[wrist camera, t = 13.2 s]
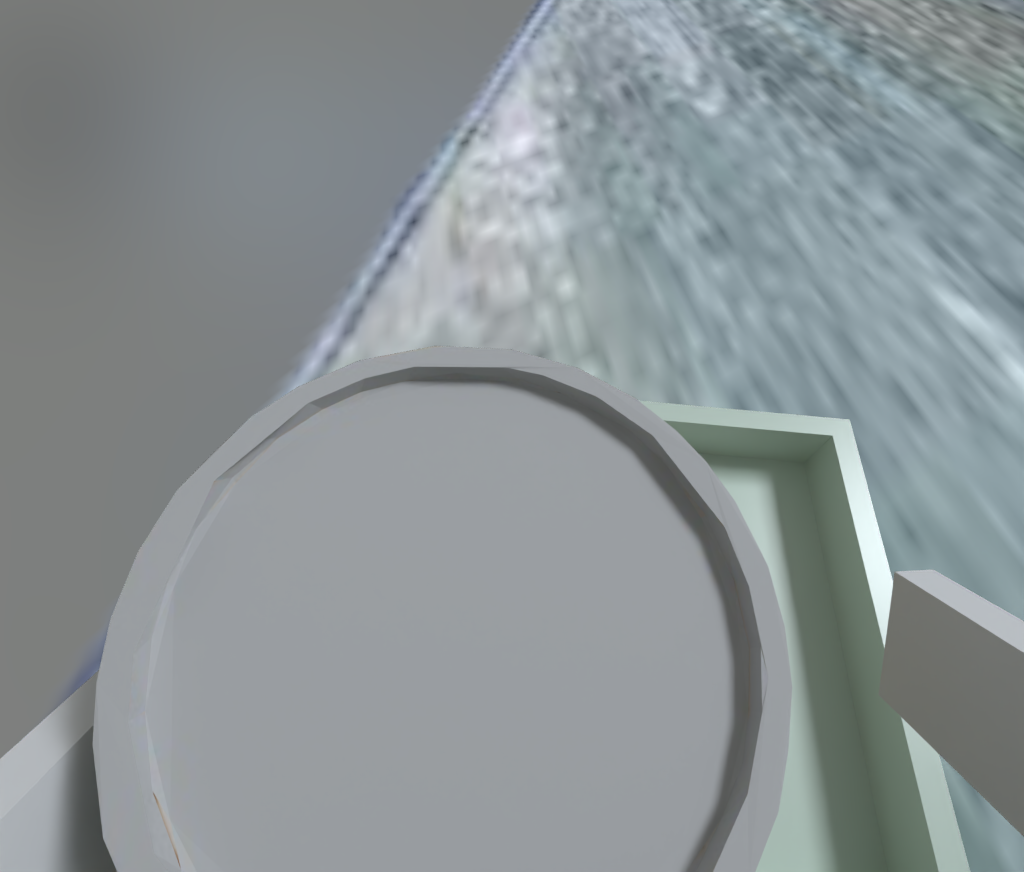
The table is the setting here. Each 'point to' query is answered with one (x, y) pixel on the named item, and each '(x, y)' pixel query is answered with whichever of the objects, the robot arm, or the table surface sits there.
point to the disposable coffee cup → (446, 639)
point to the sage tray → (829, 648)
